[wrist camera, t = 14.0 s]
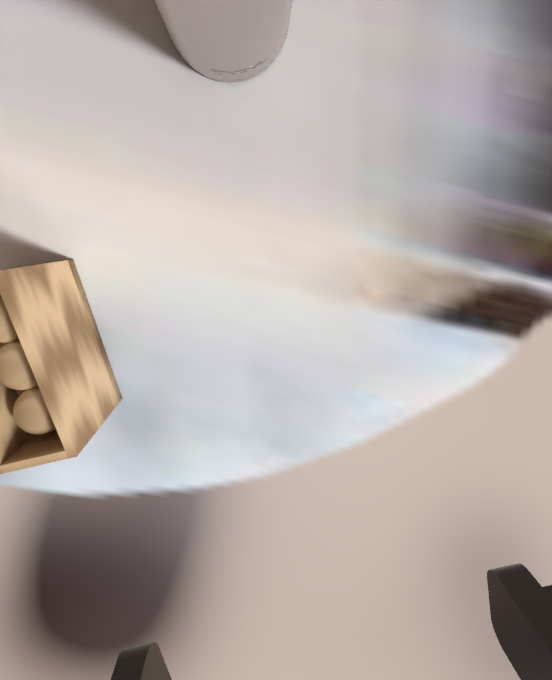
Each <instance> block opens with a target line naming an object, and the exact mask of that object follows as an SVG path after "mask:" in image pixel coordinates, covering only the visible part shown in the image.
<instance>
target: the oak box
mask: <svg viewBox="0 0 552 680" xmlns="http://www.w3.org/2000/svg"><path fill="white" fill-rule="evenodd" d="M121 400H122V396H121V393H120V391H119V388H118V385H117V382H116V379H115V376H114V374H113V371H112V368H111V365H110V362H109V360H108V357H107V354H106V351H105V348H104V345H103V343H102V340H101V337H100V334H99V331H98V329H97V326H96V323H95V320H94V317H93V314H92V312H91V309H90V306H89V303H88V300H87V298H86V295H85V292H84V289H83V286H82V283H81V281H80V278H79V275H78V272H77V269H76V267H75V264H74V261H73V259H71V260H64V261H57V262H51V263H44V264H38V265H31V266H24V267H18V268H11V269H5V270H0V474H3V473H7V472H11V471H16V470H20V469H24V468H29V467H33V466H37V465H42V464H46V463H50V462H55V461H59V460H63V459H68V458H72V457H76V456H77V455H78V454H79V453H80V452H81V450H82V449H83V448H84V447H85V445H86V444H87V443H88V441H89V440H90V439H91V438H92V436H93V435H94V434H95V433H96V431H97V430H98V429H99V427H100V426H101V425H102V424H103V422H104V421H105V420H106V419H107V417H108V416H109V415H110V414H111V412H112V411H113V410H114V408H115V407H116V406H117V405H118V403H119V402H120V401H121Z"/></svg>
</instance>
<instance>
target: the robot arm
mask: <svg viewBox="0 0 552 680" xmlns="http://www.w3.org/2000/svg"><path fill="white" fill-rule="evenodd" d="M155 2H156V4H157V7H158V9H159V12H160V14H161V17H162V19H163V21H164V23H165V26H166V28H167V30H168V32H169V35H170V37H171V39H172V41H173V44H174V46H175V48H176V49H177V51H178V52H179V54H180V55H181V56H182V58H183V59H184V60H185V61H186V62H187V63H188V64H189V65H190V66H191V67H192V68H193V69H194V70H196V71H197V72H199V73H201V74H202V75H204V76H205V77H208V78H211V79H214V80H216V81H222V82H238V81H244V80H247V79H249V78H252V77H255V76H256V75H258V74H259V73H261V72H262V71H264V70H265V69H266V68H267V67H268V66H269V65H270V64H271V63H272V62H273V61H274V60H275V58H276V56H277V55H278V53H279V51H280V50H281V48H282V46H283V43H284V40H285V38H286V35H287V30H288V24H289V19H290V13H291V7H292V2H293V0H155ZM487 580H488V591H489V601H490V612H491V620H492V624H493V627H494V630H495V633H496V636H497V638H498V640H499V643H500V645H501V647H502V648H503V650H504V652H505V654H506V655H507V657H508V659H509V661H510V662H511V664H512V666H513V667H514V669H515V671H516V672H517V674H518V676H519V677H520V679H521V680H552V585H550V586H545V587H541V585H540V584H539V583H538V582H537V580H536V579H535V578H534V577H533V576H532V575H531V573H530V572H529V571H528V570H527V568H525V567H524V566H523V565H522V564H514V565H510V566H505V567H501V568H496V569H491V570H488V572H487ZM111 680H171V677H170V674H169V672H168V669H167V667H166V664H165V662H164V659H163V657H162V654H161V651H160V649H159V646H158V645H157V643H155V642H153V643H148V644H144V645H139V646H135V647H130V648H125V649H123V650H122V651H121V653H120V654H119V657H118V659H117V662H116V665H115V668H114V671H113V674H112V678H111Z"/></svg>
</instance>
